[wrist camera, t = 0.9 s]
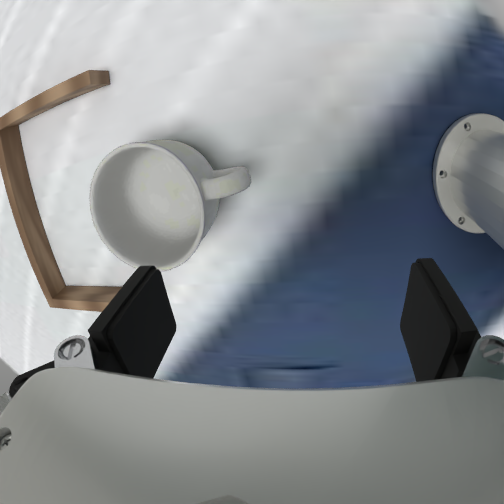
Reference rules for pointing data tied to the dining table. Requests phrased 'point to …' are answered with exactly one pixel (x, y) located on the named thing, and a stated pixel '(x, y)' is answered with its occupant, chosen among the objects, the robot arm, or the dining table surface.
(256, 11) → the dining table surface
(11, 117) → the walnut bay
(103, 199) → the teacup
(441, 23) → the dining table surface
